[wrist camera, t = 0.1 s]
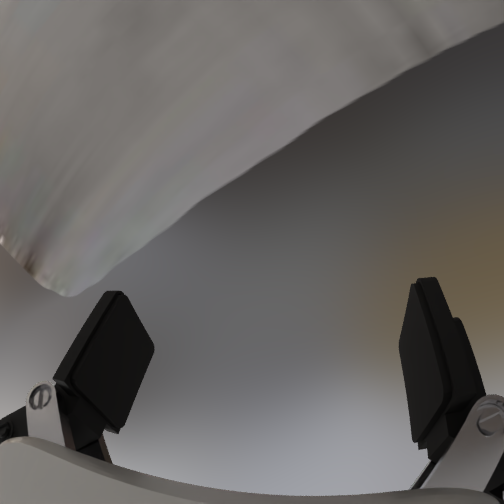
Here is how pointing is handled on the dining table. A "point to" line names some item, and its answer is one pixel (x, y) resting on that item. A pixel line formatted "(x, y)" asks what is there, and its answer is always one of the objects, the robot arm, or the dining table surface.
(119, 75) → the dining table surface
